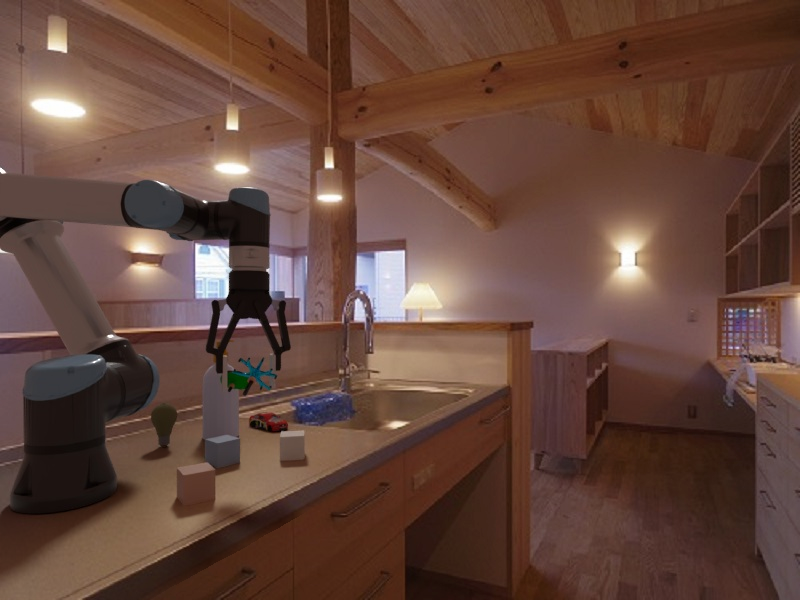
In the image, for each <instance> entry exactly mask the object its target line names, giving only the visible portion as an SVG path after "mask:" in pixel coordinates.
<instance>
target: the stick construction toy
mask: <svg viewBox="0 0 800 600" xmlns="http://www.w3.org/2000/svg"><path fill="white" fill-rule="evenodd" d="M265 358H266V357H262V358H261V359H260V361H259V363H258V364H257V366H256V367H254V366H253V365H252V363H251V361H250V360H251V357H248V358H247V359H246V360H244V359H243V358H242V357H239V359H238V361H237V362H238V363H242V364H243V365H245V366H246V367H247V368H248V372H243V371H239V370H237V369H235V368H234V370H233V371H231V370H229V371H227V387H228V388H229V389H228V392H231V390H232V389H239V391H240V390H243V392H242V395H243V396H248V393H249V391H250V389H251V387H252V386H253V385H255V384H256V382H257V383H258V384H259V386H260V387H259V390H260V391H262V390H263V387H264V389H267V390H268V391H271V390H272V389H271V387H272V386H270V387H269V385H267V384H266V383H265V382H264V381H263V380H262V378H261V377H264V376H267V377H269V376H272V377H275V378H274V379H276V380H277V379H278V374H272V373H271V372H272V370H273V369H272V368H271V370H270V371H269V370H266V371H263V370H261V367H262V365H263V363H264V360H265ZM220 381H221V383H222V375H221V377H220Z"/></svg>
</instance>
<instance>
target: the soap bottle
mask: <svg viewBox="0 0 800 600" xmlns="http://www.w3.org/2000/svg"><path fill="white" fill-rule="evenodd" d="M220 341H221V340H215V344H216V347H215V348H218V346H219V343H220ZM234 341H235V340H233V339H230V341H229V343H233V342H234ZM225 355H226V356H227V371H229V370H231V371H233V370H234V369H235V368H234V367H233V366H232V365H230V364H229V352H228V351H227V348H226V349H225V351H224V353H223V356H225ZM212 356H213V365H211V366H210V367H208V369H206V371H205V373H204V375H203V379H202V382H201V383H202V387H201V388H202V391H201V392H202V393H201V394H202V397H201V398H202V439H203V440H205V439H209V438H214V437H218V436H223V435H230V436H233V437H237V438H238V437H239V435H240V405H239V404H240V389H232V390H231V392H228V389H229V388H228V387H227V392H223V391H222V383H221V381H220V377H221V375H222V373H220V374H217V372H216V356H215V355H213V354H212Z"/></svg>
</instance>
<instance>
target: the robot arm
mask: <svg viewBox="0 0 800 600" xmlns="http://www.w3.org/2000/svg"><path fill="white" fill-rule="evenodd" d="M270 210H271V209H270V196H269V194H268V193H267V191H265V190H263V189H260V188H256V187H249V186H248V187H246V186H243V187H242V186H240V187H235V188H231V189H230V190H229V192H228V199H224V200H201V199H199V198H197V197H196V196H193V195H191V194H188V193H186V192H183V191H181V190H179V189H177V188H175V187H173V186H171V185H169V184H167V183H165V182H162V181H157V180H153V179H142V180H140V181H137V182H126V181H125V182H123V181H115V180H114V181H112V180H102V179H101V180H100V179H86V178H77V177H75V178H73V177H64V176H63V177H61V176H50V175H39V174H27V173H14V172H13V173H12V172H6V171H5V170H4V169H2V168H1V167H0V250H1V251H2V252H5V253H7V254H13V256H14V257H15V259H16V261H17V263H18V265H19V266H20V269H21V270H22V272H23V274H24V276H25V277H26V279H27V281H28V283H29V284H30V286H31V288H32V290H33V291H34V293H35V296H36V297H37V299H38V300H39V302H40V304H41V306H42V307H43V309H44V311H45V313H46V315H47V316H48V318H49V319H50V321H51V323H52V325H53V327H54V329H55V330H56V332H57V335H58V336H59V338H60V339H61V341H62V343H63V345H64V346H65V348H66V349H67V352H68V353H69V355H66V356H58V357H51V358H48V359H44V360H43V359H42V360H40V361H38V362H36V363H33V364H32V365H30V366H29V367H28V368H27V369H26V371H25V373H24V385H23V388H22V395H23V396H22V397H23V398H22V400H23V457H22V460H21V462H20V463H21V464H20V465H19V468H18V471H17V474H16V477H15V480H14V482H13V485H12V488H11V490H10V495H9V507H10V509H11V510H12V511H13V512H17V513H20V514H36V515H37V514H49V513H57V512H58V513H59V512H64V511H70V510H74V509H78V508H81V507H82V508H83V507H86V506H89V505H92V504H96V503H98V502H100V501H103V500H106V499H107V498H109V497H110V496H112V495H113V494H115V493H116V492H117V489H118V478H117V477H118V476H117V473H116V471H115V468H114V464H113V462H112V460H111V457H110V454H109V452H108V449H107V444H106V433H107V432H106V428H107V427H106V424H107V423H109V422H111V421H114V420H117V419H120V418H124V417H128V416H132V415H135V414H136V413H138V412H139V411H142V410H144V409H146V408H147V407H149V405H150V404H151V403H153V401H154V400H155V399H156V396H157V395H158V391H159V388H160V385H161V383H160V381H161V377H160V372H159V369H158V367H157V365H156V364H155V362H154V361H153V360H152V359H151V358H149V357H148V356H145V355H142V354H140V353H137V352H136V350H135V348H134V347H133V346H132V343H131V341H130V340H129V339H128V338H127V337H121V336H118V335H117V334H116V332H115V331H114V329H113V328H112V326H111V324H110V322H109V320H108V318H107V317H106V316H105V313H104V311H103V310H102V308H101V306H100V304H99V303H98V301H97V299H96V298H95V296H94V294H93V292H92V291H91V289H90V287H89V285H88V283H87V281H86V280H85V278H84V276H83V275H82V273H81V272H80V271H81V270H79V268H78V265H76V262H75V261H74V258H73V257H72V256H71V254H70V252H69V250H68V248H67V246H66V244H65V243H64V241H63V240H62V238H61V237H62V236H63V235H64V232H65V227H64V225H63V224H64V223H65V222H67V223H75V224H76V223H78V224H88V225H89V224H90V225H99V226H100V225H101V226H110V227H111V226H114V227H123V228H124V227H126V228H136V229H141V230H142V229H143V230H154V231H155V230H156V231H162V232H165V233H167V234H168V235H169V238H170V239H173V240H175V241H188V242H193V241H214V240H215V241H218V240H220V241H221V240H223V241H226V240H227V241H228V268H229V269H231V270H230V271H229V273H228V294H227V296H226V298H225V299H213V300H211V302H210V304H211V311H212V314H211V319H210V326H209V329H208V335H207V340H206V344H205V345H206V346H205V351H206V353H208V354H211V355H212V356H213V355H215V356H216V372H217V374H220V373H222V391H223V392H227V356H226V355H225V356H223V353H224V351H225V349H226V350H227V347H228V345H229V343H230V342H229V341H230V340H232V339H231V338H232V337H233V334H234V332H235V329H236V328H237V326H238V324H239V322H240V320H247V319H253V320H258V321H259V323H260V326H261V327H262V330H263V331H264V334H265V337H266V338H267V340H268V343H269V345H270V347H271V350H272V352H273V353H269V357H268V358H269V362H268V365H269V366H268V367H269V369H268V371H270V370H271V368H272V369H273V370H272V372H271V373H272V374H276V373H277V372H280V371H281V369H282V354H283V353H285V352H288V351H290V350H291V349H292V347H291V346H292V345H291V341H290V335H289V329H288V324H287V318H286V312H285V311H286V306H287V302H286V300H284V299H283V300H278V299H273V298H272V296H271V294H270V293H271V292H270V285H271V284H270V281H271V280H270V277H271V276H270V275H271V274H270V273H269V271H267V270H269V269H270V257H271V256H270V254H271V253H270V249H271V248H270V242H271V241H270V239H271V238H270V237H271V235H270V234H271V232H270V231H271V215H272V214H271V213H270V212H271V211H270ZM226 305H227V306H228V308H229V309H230V310H231V312H232V316H231V318H230V320H229V322H228V324H227V327H226V329H225V330H224V333H223V336H222V337H221V339H220V340H219V341H220V343H219V346H218V348H216V347H215V344H216V337H217V332H218V328H219V327H218V326H219V322H220V318H221V312H222V311H224V309H225V306H226ZM271 306H272V307H273V310H274V311H275V312H276V318H277V324H278V331H279V335H280V342H281V345H280V344H279V342H278V339H277V338H276V336H275V335H276V334H275V333H274V331H273V328H272V326H271V324H270V322H269V318H268V316H267V314H266V312H267V311H268V309H269V308H270V307H271ZM276 375H277V374H276ZM268 378H269V379H268V384H269V385H268V387H270V386H272V387H271V389H270V390H275V389H276V388H277V387H276V385H277V384H276V381H277V378H276V379H274V378H275V377H272V376H268Z"/></svg>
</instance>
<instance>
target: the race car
mask: <svg viewBox="0 0 800 600" xmlns="http://www.w3.org/2000/svg"><path fill="white" fill-rule="evenodd" d="M248 425H249V426H250V427H252V428H256V429H261V430H264V431H267V432H270V433H272V432H278V431H279V432H280V431H284V430H287V429H288V428H289V423H288V421H286V420H285V419H282V418H281V415H277V414H276V413H273V412H271V411H265V412H259V413H254V414H253V415H250V416H249V418H248Z"/></svg>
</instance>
